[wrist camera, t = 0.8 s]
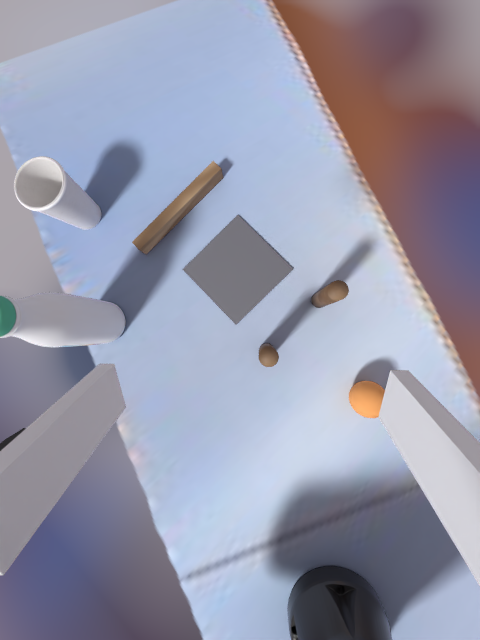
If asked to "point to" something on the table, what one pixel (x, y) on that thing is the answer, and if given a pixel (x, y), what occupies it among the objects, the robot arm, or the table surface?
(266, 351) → the post
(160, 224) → the wall
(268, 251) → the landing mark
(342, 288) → the post
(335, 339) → the table surface
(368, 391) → the ball
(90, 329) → the milk bottle
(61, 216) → the dixie cup
